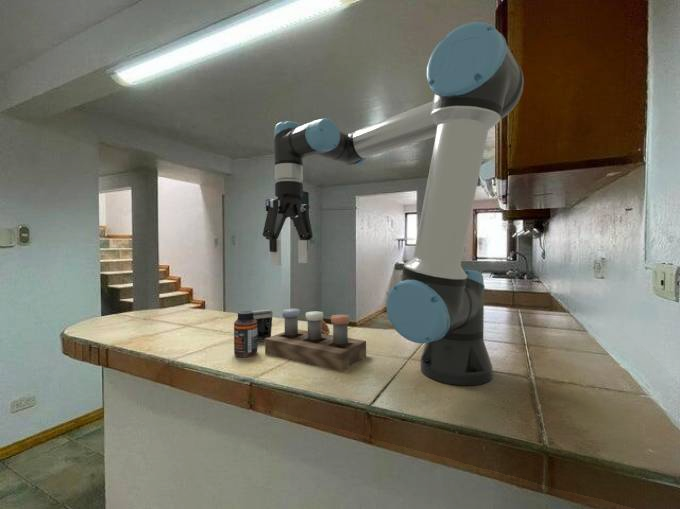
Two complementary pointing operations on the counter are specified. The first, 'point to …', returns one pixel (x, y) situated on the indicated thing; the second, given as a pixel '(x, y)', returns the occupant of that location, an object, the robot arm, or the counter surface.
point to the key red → (340, 328)
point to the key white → (314, 324)
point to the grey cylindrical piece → (291, 321)
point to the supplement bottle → (245, 334)
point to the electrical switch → (263, 323)
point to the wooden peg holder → (316, 350)
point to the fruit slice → (324, 327)
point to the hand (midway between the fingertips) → (290, 263)
